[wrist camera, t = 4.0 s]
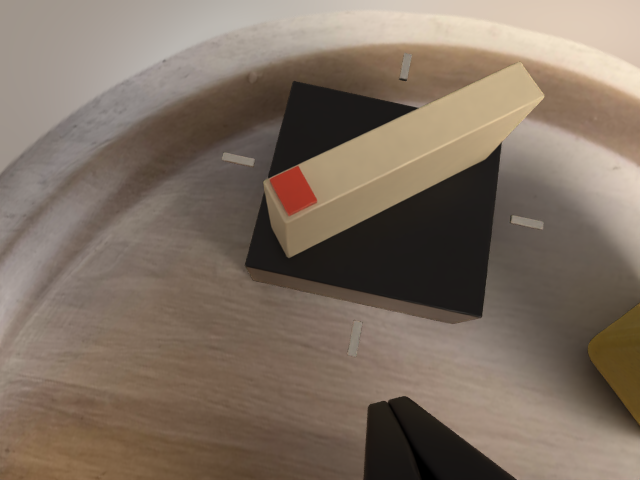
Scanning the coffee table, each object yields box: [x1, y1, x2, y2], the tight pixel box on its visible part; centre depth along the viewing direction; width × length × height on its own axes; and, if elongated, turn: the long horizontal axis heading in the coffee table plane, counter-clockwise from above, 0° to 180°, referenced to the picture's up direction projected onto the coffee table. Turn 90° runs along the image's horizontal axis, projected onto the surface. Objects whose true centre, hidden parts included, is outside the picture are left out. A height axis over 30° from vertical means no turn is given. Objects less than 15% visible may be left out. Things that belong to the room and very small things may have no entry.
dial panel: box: [222, 53, 543, 357], centre depth 21 cm, size 14×14×4 cm
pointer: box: [263, 62, 544, 258], centre depth 17 cm, size 10×2×5 cm, turn 118°
